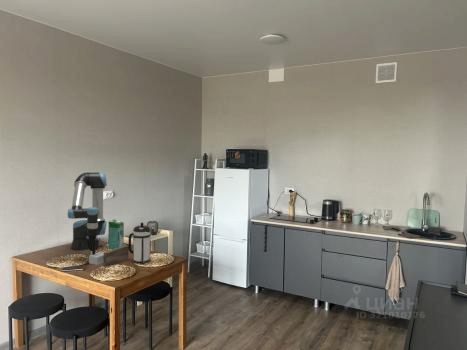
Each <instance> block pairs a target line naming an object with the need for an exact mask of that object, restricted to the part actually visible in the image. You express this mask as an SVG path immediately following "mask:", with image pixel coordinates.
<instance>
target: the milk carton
mask: <svg viewBox="0 0 467 350" xmlns="http://www.w3.org/2000/svg"><path fill="white" fill-rule="evenodd" d="M124 224H125V222H123V221H120V220H117V219H112V220H109V221H108V234H107V235H108V236H107V237H108V239H107V240H108V245H107V247H108V248H107V249H115V248H118V247H121V246H125V242H124V239H125V236H124V235H125V234H124V232H125V231H124V227H125V225H124Z"/></svg>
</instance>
